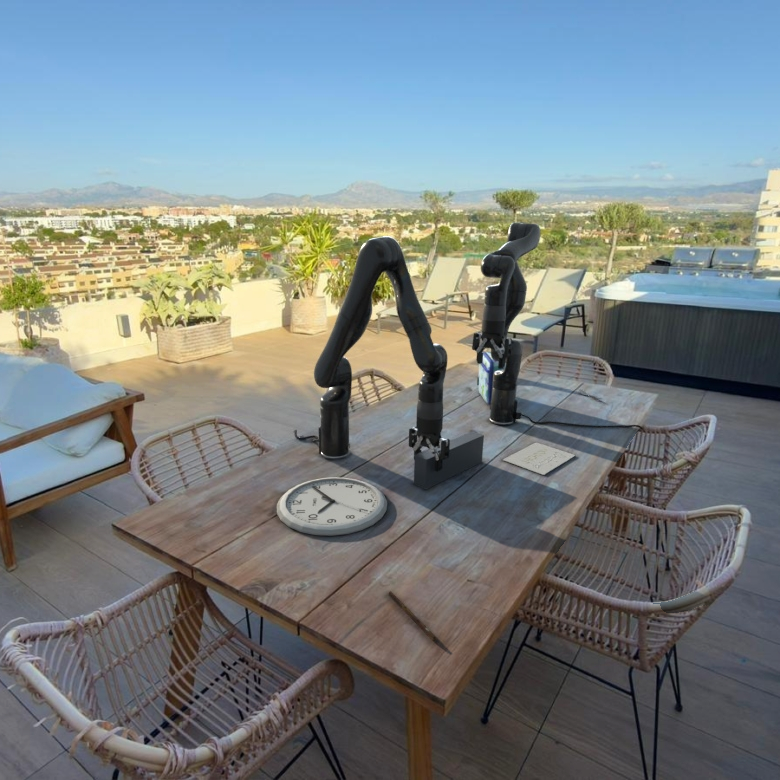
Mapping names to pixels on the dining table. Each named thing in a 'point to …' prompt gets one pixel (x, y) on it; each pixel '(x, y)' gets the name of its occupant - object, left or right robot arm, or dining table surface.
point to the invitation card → (539, 458)
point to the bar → (449, 460)
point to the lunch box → (487, 376)
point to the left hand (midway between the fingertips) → (427, 466)
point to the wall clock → (331, 506)
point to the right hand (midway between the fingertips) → (490, 365)
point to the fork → (589, 395)
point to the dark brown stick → (412, 616)
